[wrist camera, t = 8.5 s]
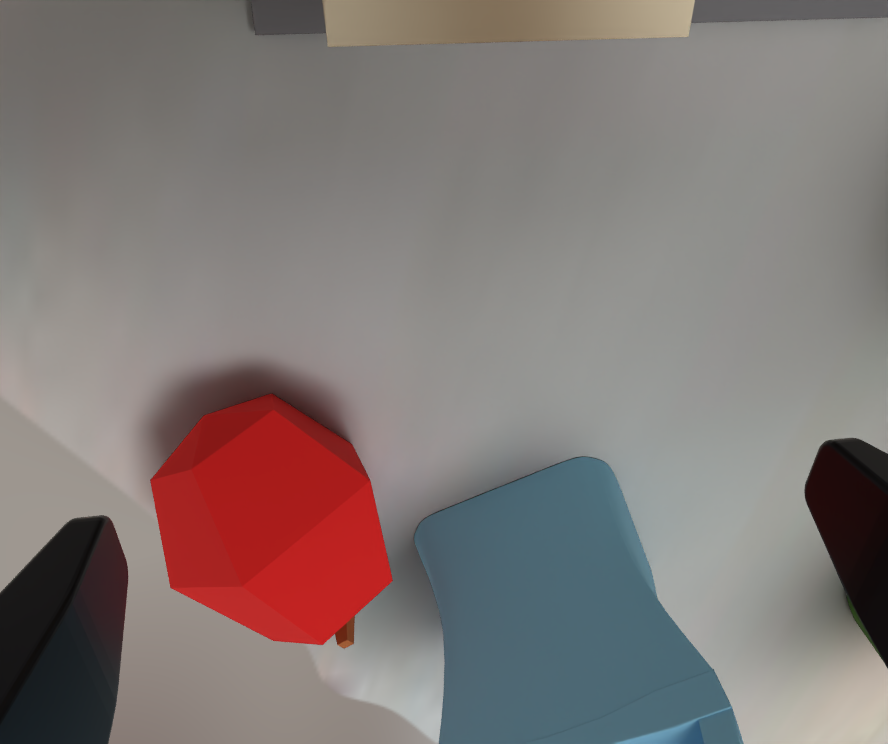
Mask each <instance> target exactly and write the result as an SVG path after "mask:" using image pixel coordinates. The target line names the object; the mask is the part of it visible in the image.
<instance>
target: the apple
mask: <svg viewBox="0 0 888 744" xmlns="http://www.w3.org/2000/svg"><path fill="white" fill-rule="evenodd" d="M150 481H151V486H152V492H153V497H154V502H155V508H156V513H157V518H158V524H159V529H160V534H161V540H162V545H163V550H164V555H165V561H166V566H167V572H168V577H169V582H170V587H171V588H172V589H174V590H176V591H178V592H180V593H182V594H184V595H186V596H188V597H190V598H191V599H193V600H195V601H197V602H199V603H201V604H203V605H205V606H207V607H209V608H211V609H213V610H215V611H217V612H218V613H221V614H223V615H224V616H226V617H228V618H230V619H232V620H234V621H236V622H238V623H240V624H242V625H244V626H246V627H248V628H250V629H251V630H253V631H255V632H257V633H259V634H261V635H263V636H265V637H267V638H269V639H271V640H273V641H281V642H294V643H306V644H318V645H323V644H324V643H325V642H326V641H327V640H328V639H330V638H331V637H332V636H333V635H334V634H335V636H336V640H337V645H339V646H340V647H342V648H346V647H348V646H350V645H352V644H354V619H355V615H356V614H357V613H358V612H359V611H360V610H361V609H362V608H363V607H365V606H366V605H367V604H368V603H369V602H370V601H371V600H372V599H373V598H374V597H375V596H377V595H378V594H379V593H380V592H381V591H382V590H383V589H384V588H385V587H386V586H388V585H389V584H390V583H391V582H392V581H393V580H392V575H391V571H390V566H389V562H388V557H387V553H386V548H385V544H384V540H383V535H382V531H381V526H380V522H379V517H378V513H377V508H376V504H375V499H374V495H373V490H372V486H371V482H370V479H369V477H368V475H367V473H366V471H365V469H364V467H363V465H362V463H361V461H360V459H359V457H358V455H357V453H356V451H355V449H354V447H353V445H352V444H351V443H349V442H348V441H346V440H345V439H343V438H341V437H340V436H338V435H337V434H335V433H333V432H332V431H330V430H329V429H327V428H326V427H324V426H322V425H321V424H319V423H318V422H316V421H315V420H313V419H311V418H310V417H308V416H307V415H305V414H304V413H302V412H300V411H299V410H297V409H296V408H294V407H292V406H291V405H289V404H288V403H286V402H285V401H283V400H281V399H280V398H278V397H277V396H275V395H274V394H268V395H265V396H262V397H259V398H256V399H253V400H250V401H247V402H244V403H241V404H237V405H234V406H231V407H228V408H225V409H222V410H219V411H216V412H213V413H210V414H207V415H204V416H203V417H202V418H201V419H200V421H199V422H198V423H197V424H196V425H195V427H194V428H193V429H192V430H191V431H190V433H189V434H188V435H187V436H186V438H185V439H184V440H183V441H182V442H181V444H180V445H179V446H178V447H177V448H176V450H175V451H174V452H173V453H172V455H171V456H170V457H169V458H168V459H167V461H166V462H165V463H164V464H163V465H162V467H161V468H160V469H159V470H158V472H157V473H156V474H155V475H154V476H153V478H152V479H151V480H150Z"/></svg>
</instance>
